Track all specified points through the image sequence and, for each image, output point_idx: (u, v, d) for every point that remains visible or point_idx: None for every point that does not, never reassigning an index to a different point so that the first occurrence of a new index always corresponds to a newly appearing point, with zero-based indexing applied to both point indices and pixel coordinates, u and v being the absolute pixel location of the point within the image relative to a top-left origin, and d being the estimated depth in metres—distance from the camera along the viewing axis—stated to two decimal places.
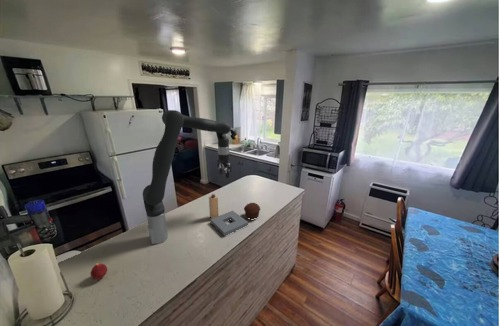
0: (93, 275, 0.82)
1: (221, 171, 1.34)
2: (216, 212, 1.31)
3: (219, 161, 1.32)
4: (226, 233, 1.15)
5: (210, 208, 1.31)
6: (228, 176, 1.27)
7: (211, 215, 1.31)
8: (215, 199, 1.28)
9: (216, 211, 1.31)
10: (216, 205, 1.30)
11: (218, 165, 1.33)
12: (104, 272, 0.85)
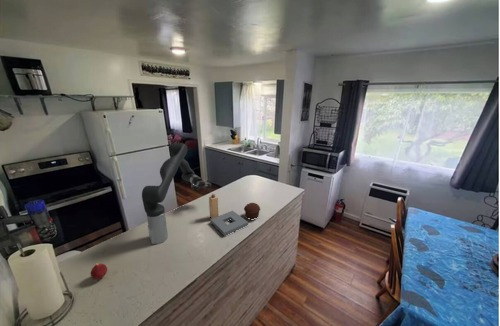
0: (93, 275, 0.82)
1: None
2: (216, 212, 1.31)
3: None
4: (226, 233, 1.15)
5: (210, 208, 1.31)
6: (211, 185, 1.41)
7: (211, 215, 1.31)
8: (215, 199, 1.28)
9: (216, 211, 1.31)
10: (216, 205, 1.30)
11: (194, 186, 1.38)
12: (104, 272, 0.85)
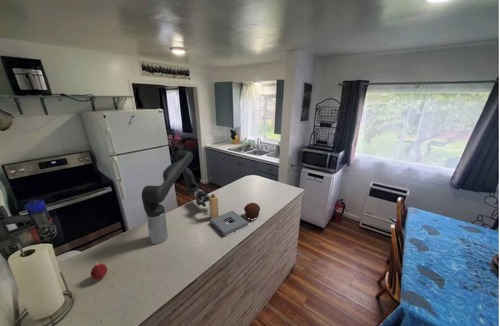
0: (93, 275, 0.82)
1: None
2: (216, 212, 1.31)
3: (198, 200, 1.38)
4: (226, 233, 1.15)
5: (210, 208, 1.31)
6: None
7: (211, 215, 1.31)
8: (215, 199, 1.28)
9: (216, 211, 1.31)
10: (216, 205, 1.30)
11: None
12: (104, 272, 0.85)
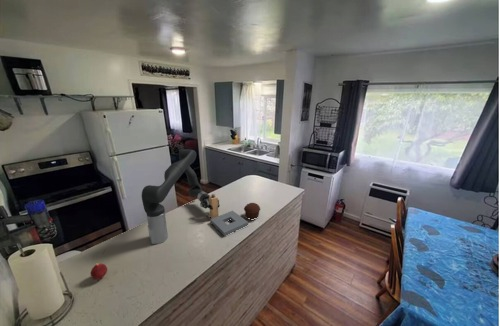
0: (93, 275, 0.82)
1: None
2: (216, 212, 1.31)
3: (202, 203, 1.33)
4: (226, 233, 1.15)
5: None
6: (219, 205, 1.32)
7: (211, 215, 1.31)
8: (215, 199, 1.28)
9: (216, 211, 1.31)
10: (216, 205, 1.30)
11: None
12: (104, 272, 0.85)
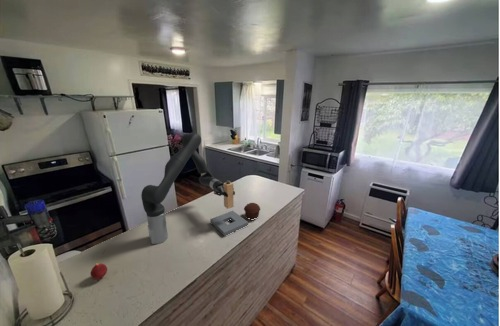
0: (93, 275, 0.82)
1: None
2: (231, 200, 1.20)
3: None
4: (226, 233, 1.15)
5: None
6: (234, 192, 1.21)
7: (226, 203, 1.20)
8: (230, 185, 1.17)
9: (231, 199, 1.20)
10: (231, 192, 1.19)
11: None
12: (104, 272, 0.85)
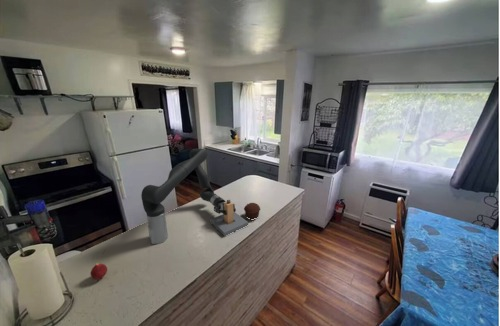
0: (93, 275, 0.82)
1: None
2: (231, 219, 1.24)
3: None
4: (226, 233, 1.15)
5: None
6: None
7: (226, 222, 1.24)
8: (231, 205, 1.21)
9: (231, 217, 1.24)
10: (231, 211, 1.23)
11: (218, 209, 1.23)
12: (104, 272, 0.85)
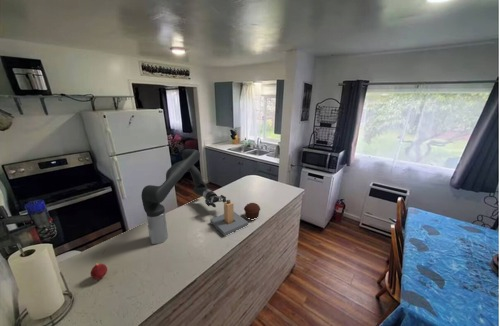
0: (93, 275, 0.82)
1: None
2: (231, 219, 1.24)
3: None
4: (226, 233, 1.15)
5: (224, 214, 1.24)
6: (226, 201, 1.35)
7: (226, 222, 1.24)
8: (231, 205, 1.21)
9: (231, 217, 1.24)
10: (231, 211, 1.23)
11: (208, 202, 1.32)
12: (104, 272, 0.85)
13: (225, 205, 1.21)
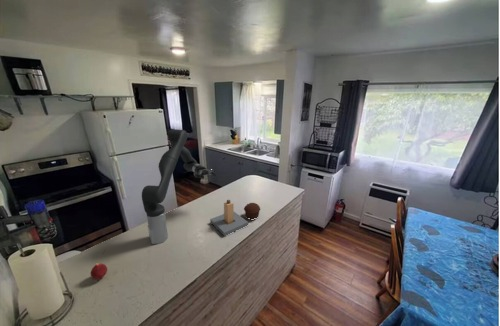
0: (93, 275, 0.82)
1: None
2: (231, 219, 1.24)
3: (196, 173, 1.32)
4: (226, 233, 1.15)
5: (224, 214, 1.24)
6: (215, 174, 1.32)
7: (226, 222, 1.24)
8: (231, 205, 1.21)
9: (231, 217, 1.24)
10: (231, 211, 1.23)
11: (197, 174, 1.29)
12: (104, 272, 0.85)
13: (225, 205, 1.21)
